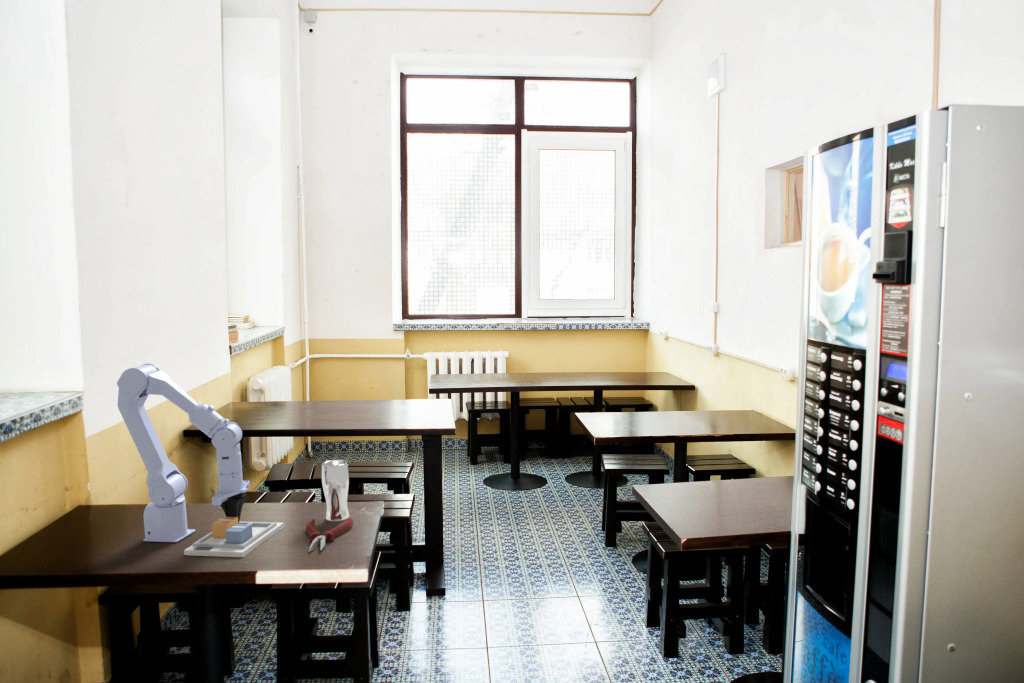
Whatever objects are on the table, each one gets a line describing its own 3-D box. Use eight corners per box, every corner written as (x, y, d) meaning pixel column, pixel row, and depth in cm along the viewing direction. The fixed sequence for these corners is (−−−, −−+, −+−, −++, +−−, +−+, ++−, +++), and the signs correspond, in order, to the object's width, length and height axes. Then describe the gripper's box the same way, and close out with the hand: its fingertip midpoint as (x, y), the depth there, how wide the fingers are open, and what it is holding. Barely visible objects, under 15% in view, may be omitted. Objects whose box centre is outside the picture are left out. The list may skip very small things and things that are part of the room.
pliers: (290, 557, 171) (289, 546, 171) (309, 527, 191) (309, 517, 191) (339, 555, 172) (339, 544, 171) (354, 525, 192) (353, 515, 191)
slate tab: (226, 545, 175) (225, 530, 175) (237, 537, 180) (236, 523, 180) (241, 545, 175) (240, 530, 174) (252, 538, 179) (251, 523, 179)
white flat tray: (184, 555, 173) (183, 546, 173) (231, 525, 193) (230, 518, 193) (242, 557, 171) (242, 549, 171) (284, 527, 190) (283, 519, 190)
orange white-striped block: (212, 537, 181) (211, 522, 181) (224, 530, 186) (223, 515, 186) (227, 537, 180) (226, 523, 180) (238, 530, 185) (237, 516, 185)
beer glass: (347, 521, 193) (344, 465, 191) (321, 522, 193) (317, 466, 191) (353, 513, 200) (350, 459, 198) (328, 513, 200) (324, 459, 198)
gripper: (228, 480, 178) (233, 534, 179) (259, 464, 192) (262, 515, 193) (202, 479, 179) (206, 534, 180) (234, 464, 193) (238, 514, 194)
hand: (234, 524), depth 187 cm, fingers closed
